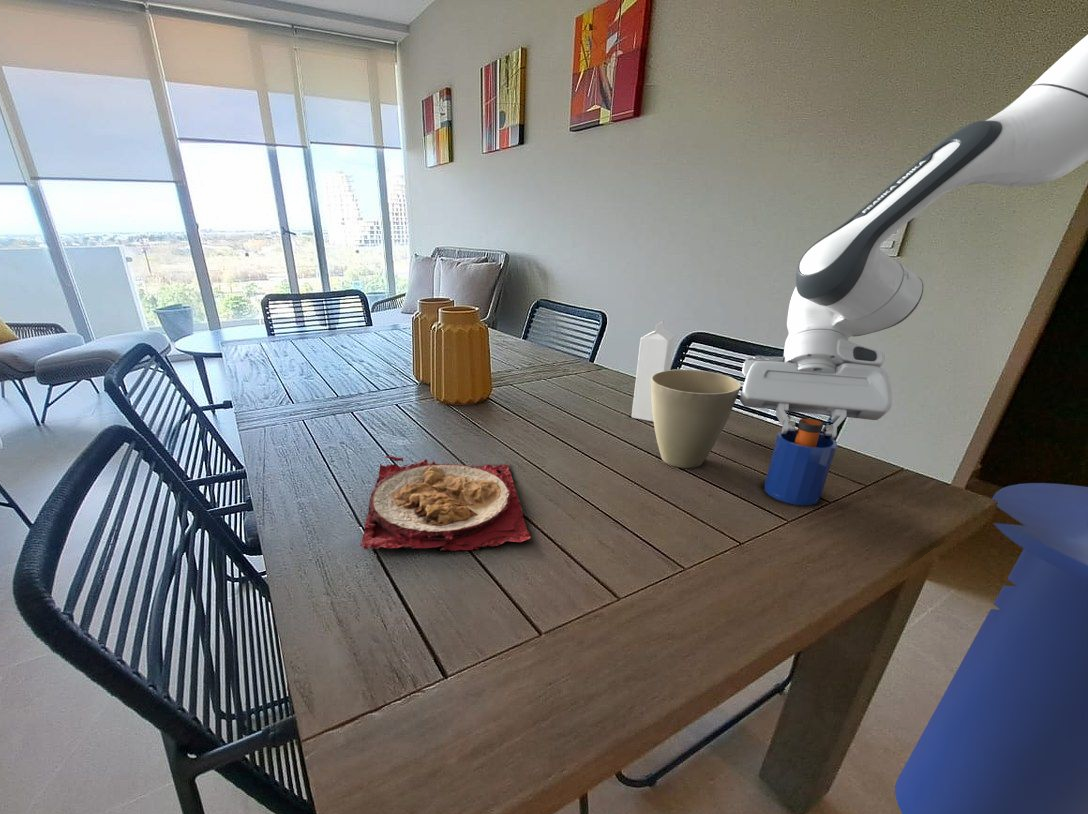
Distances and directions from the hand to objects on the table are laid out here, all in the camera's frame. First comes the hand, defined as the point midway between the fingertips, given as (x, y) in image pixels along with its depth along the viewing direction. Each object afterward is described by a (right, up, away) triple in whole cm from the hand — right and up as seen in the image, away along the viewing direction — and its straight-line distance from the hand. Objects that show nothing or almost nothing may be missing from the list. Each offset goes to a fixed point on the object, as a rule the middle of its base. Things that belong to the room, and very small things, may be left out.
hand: (808, 435), depth 75 cm
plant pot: (-13, -4, +17) cm, 22 cm away
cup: (0, -9, +5) cm, 11 cm away
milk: (-12, +6, +39) cm, 41 cm away
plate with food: (-57, -11, +3) cm, 59 cm away
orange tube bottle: (0, -9, +4) cm, 10 cm away
